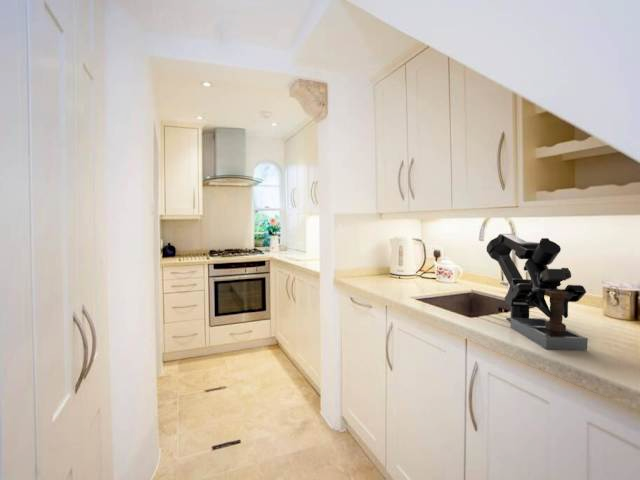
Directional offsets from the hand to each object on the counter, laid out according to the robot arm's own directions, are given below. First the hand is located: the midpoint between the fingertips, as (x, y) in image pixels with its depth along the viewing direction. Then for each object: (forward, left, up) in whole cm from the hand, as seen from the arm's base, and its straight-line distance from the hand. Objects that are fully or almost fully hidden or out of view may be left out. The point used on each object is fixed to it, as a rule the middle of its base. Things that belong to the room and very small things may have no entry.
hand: (558, 317), depth 95 cm
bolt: (-1, 0, -8) cm, 8 cm away
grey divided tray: (-6, 0, -8) cm, 10 cm away
